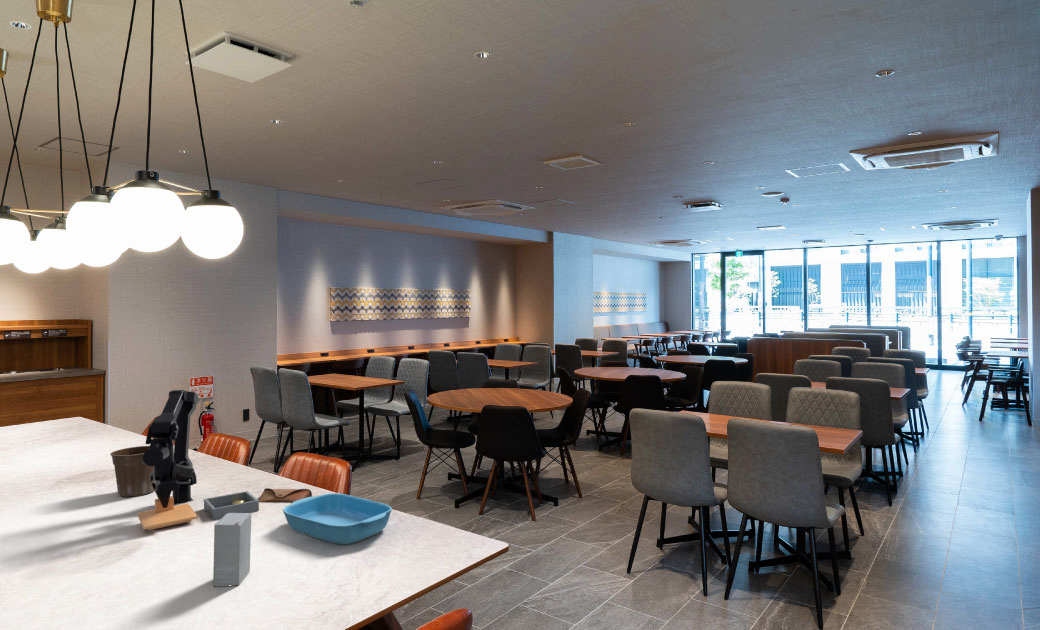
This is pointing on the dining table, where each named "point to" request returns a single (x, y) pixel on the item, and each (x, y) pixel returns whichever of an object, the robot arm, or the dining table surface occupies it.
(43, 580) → the dining table surface
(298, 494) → the sunglasses case
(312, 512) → the casserole dish
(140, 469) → the plant pot
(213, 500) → the tub
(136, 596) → the dining table surface
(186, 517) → the lid
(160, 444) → the robot arm
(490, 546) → the dining table surface
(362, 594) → the dining table surface
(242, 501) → the part
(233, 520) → the skincare box
